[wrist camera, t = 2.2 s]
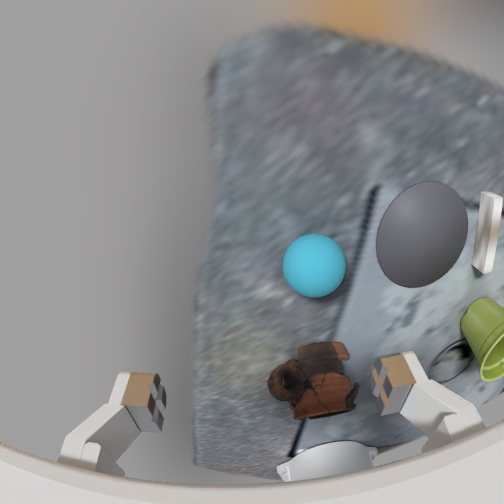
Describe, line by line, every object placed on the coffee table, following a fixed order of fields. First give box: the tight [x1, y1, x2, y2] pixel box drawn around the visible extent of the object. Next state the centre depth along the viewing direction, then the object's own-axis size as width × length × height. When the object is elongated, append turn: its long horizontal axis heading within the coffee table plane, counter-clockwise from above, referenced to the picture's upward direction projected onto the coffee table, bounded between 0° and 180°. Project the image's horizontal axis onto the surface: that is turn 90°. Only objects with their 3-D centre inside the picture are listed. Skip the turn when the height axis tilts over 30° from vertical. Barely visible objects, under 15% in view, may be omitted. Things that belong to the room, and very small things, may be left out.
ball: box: [283, 234, 346, 298], centre depth 28 cm, size 6×6×6 cm
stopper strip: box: [472, 192, 503, 274], centre depth 28 cm, size 9×2×2 cm, turn 7°
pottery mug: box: [267, 342, 359, 420], centre depth 34 cm, size 12×9×8 cm
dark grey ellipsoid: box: [376, 181, 468, 287], centre depth 30 cm, size 12×12×1 cm
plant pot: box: [460, 297, 504, 382], centre depth 31 cm, size 9×9×9 cm
